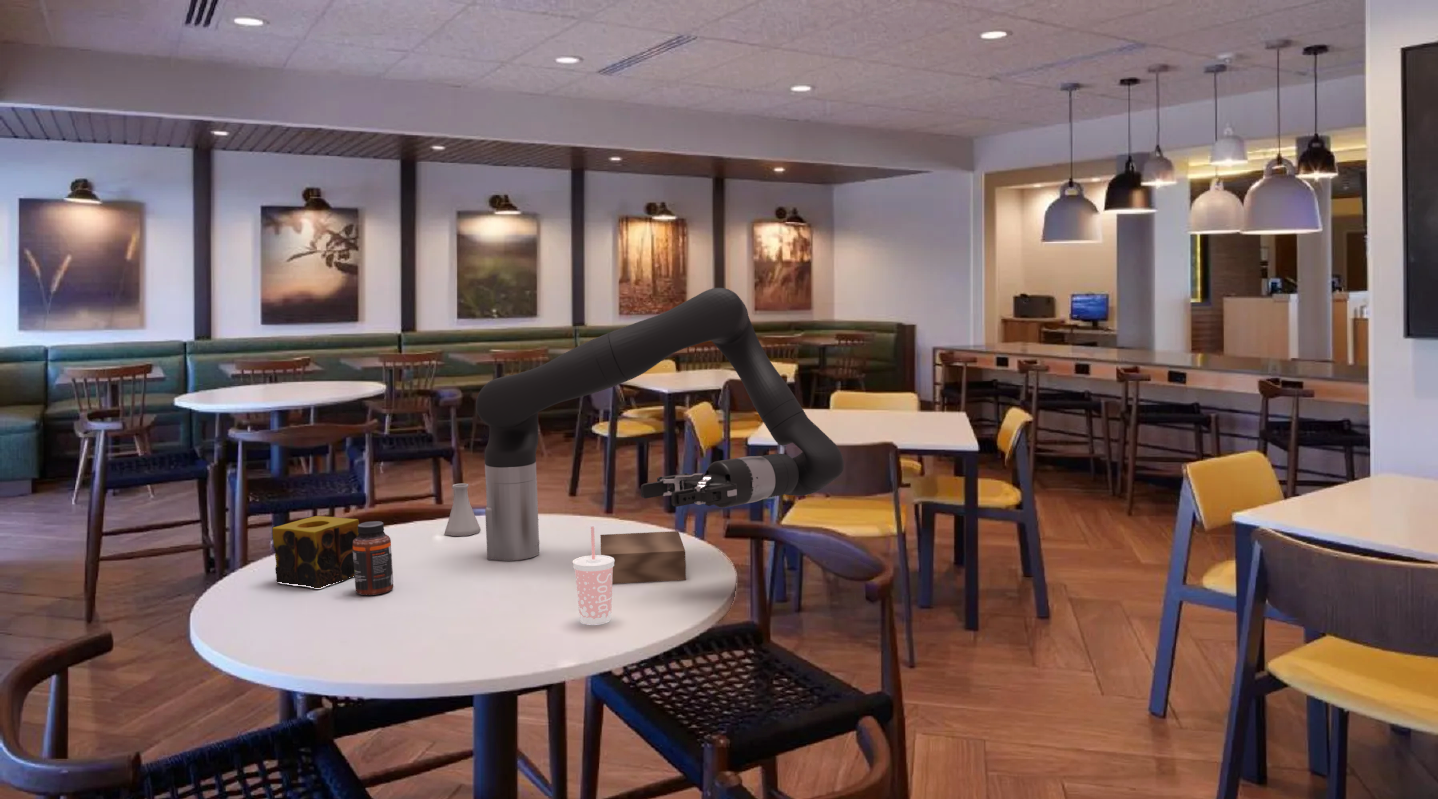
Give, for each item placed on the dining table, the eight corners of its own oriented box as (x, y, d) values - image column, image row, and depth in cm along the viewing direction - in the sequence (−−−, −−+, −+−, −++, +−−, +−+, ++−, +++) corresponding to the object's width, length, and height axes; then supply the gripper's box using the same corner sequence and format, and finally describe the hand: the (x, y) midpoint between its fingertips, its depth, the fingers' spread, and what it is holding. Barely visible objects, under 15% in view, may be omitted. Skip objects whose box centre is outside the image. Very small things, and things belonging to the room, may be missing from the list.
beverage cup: (581, 629, 142) (577, 533, 141) (569, 616, 148) (566, 524, 146) (621, 622, 144) (619, 528, 143) (609, 610, 150) (606, 520, 149)
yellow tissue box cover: (364, 575, 172) (361, 519, 171) (318, 591, 163) (315, 532, 162) (321, 569, 177) (318, 514, 176) (274, 584, 168) (270, 526, 167)
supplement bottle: (401, 587, 164) (397, 520, 163) (378, 598, 159) (374, 528, 158) (371, 584, 166) (367, 518, 165) (347, 595, 161) (343, 526, 159)
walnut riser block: (601, 584, 164) (600, 554, 163) (601, 562, 178) (600, 534, 177) (685, 579, 166) (685, 550, 165) (679, 558, 179) (678, 531, 179)
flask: (471, 537, 198) (469, 488, 197) (437, 536, 199) (435, 487, 198) (486, 529, 205) (484, 481, 204) (454, 528, 206) (452, 481, 205)
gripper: (713, 453, 166) (631, 465, 156) (768, 463, 155) (682, 477, 145) (714, 497, 167) (633, 512, 157) (769, 510, 155) (684, 527, 146)
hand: (657, 495), depth 151 cm, fingers open, 8 cm apart
